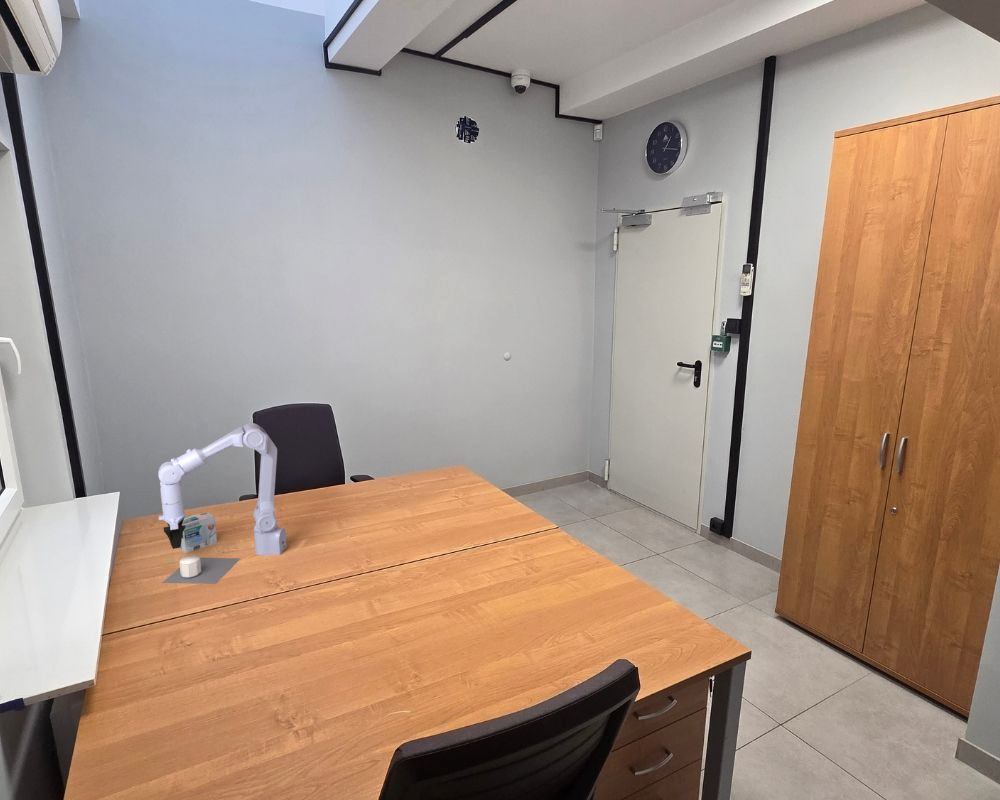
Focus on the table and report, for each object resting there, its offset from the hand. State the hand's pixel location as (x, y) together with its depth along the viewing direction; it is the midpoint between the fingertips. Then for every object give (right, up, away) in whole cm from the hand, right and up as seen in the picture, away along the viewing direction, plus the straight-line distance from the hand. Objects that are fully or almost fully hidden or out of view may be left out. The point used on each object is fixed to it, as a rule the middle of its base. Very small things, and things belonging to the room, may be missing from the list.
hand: (176, 542), depth 170 cm
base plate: (+8, -10, +1) cm, 12 cm away
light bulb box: (-3, -6, +18) cm, 19 cm away
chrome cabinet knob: (+6, -9, -2) cm, 11 cm away
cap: (+6, -9, -3) cm, 11 cm away
